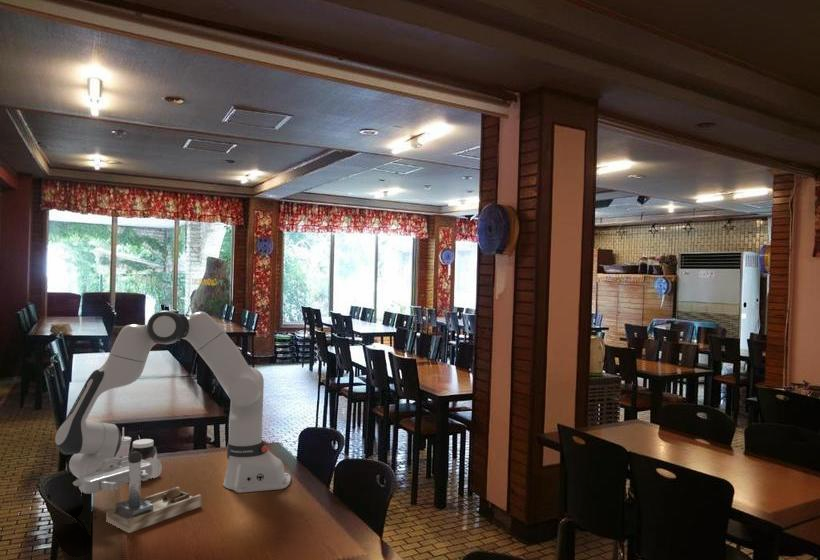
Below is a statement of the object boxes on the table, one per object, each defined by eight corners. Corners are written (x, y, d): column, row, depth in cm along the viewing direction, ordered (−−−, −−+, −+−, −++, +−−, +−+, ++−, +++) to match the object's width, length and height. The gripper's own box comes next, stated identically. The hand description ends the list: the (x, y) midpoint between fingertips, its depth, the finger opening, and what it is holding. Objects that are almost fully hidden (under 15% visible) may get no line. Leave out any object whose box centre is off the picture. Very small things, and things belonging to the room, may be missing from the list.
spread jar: (139, 469, 212) (139, 437, 212) (169, 469, 212) (170, 438, 212) (121, 480, 200) (122, 447, 200) (154, 481, 200) (154, 447, 200)
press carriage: (133, 521, 162) (133, 457, 162) (115, 513, 167) (116, 451, 167) (155, 513, 168) (156, 451, 168) (138, 505, 173) (138, 445, 173)
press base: (129, 533, 160) (129, 519, 160) (106, 522, 167) (106, 508, 167) (201, 506, 179) (201, 494, 179) (177, 497, 186) (177, 485, 186)
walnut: (182, 498, 180) (182, 485, 180) (178, 503, 176) (178, 490, 176) (168, 498, 179) (169, 485, 179) (164, 503, 175) (164, 490, 175)
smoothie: (123, 468, 213) (123, 430, 213) (108, 466, 214) (108, 428, 214) (134, 462, 219) (135, 425, 219) (120, 461, 220) (120, 424, 220)
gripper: (70, 471, 168) (94, 481, 160) (137, 453, 185) (162, 462, 177) (69, 493, 168) (94, 504, 160) (137, 473, 185) (162, 482, 177)
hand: (131, 482), depth 169 cm, fingers open, 8 cm apart
